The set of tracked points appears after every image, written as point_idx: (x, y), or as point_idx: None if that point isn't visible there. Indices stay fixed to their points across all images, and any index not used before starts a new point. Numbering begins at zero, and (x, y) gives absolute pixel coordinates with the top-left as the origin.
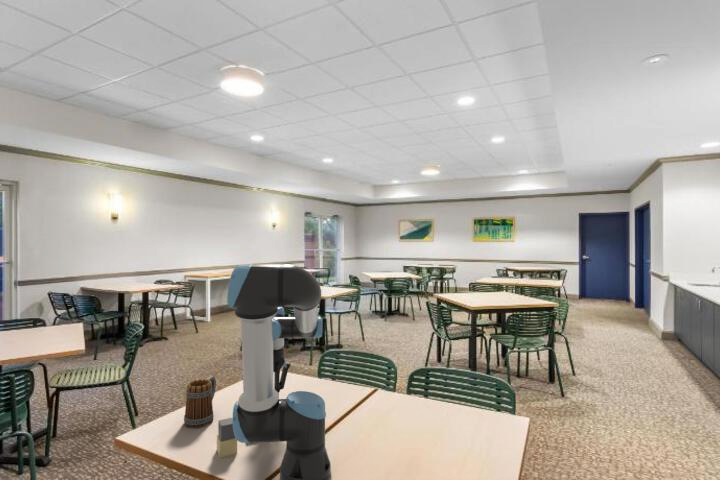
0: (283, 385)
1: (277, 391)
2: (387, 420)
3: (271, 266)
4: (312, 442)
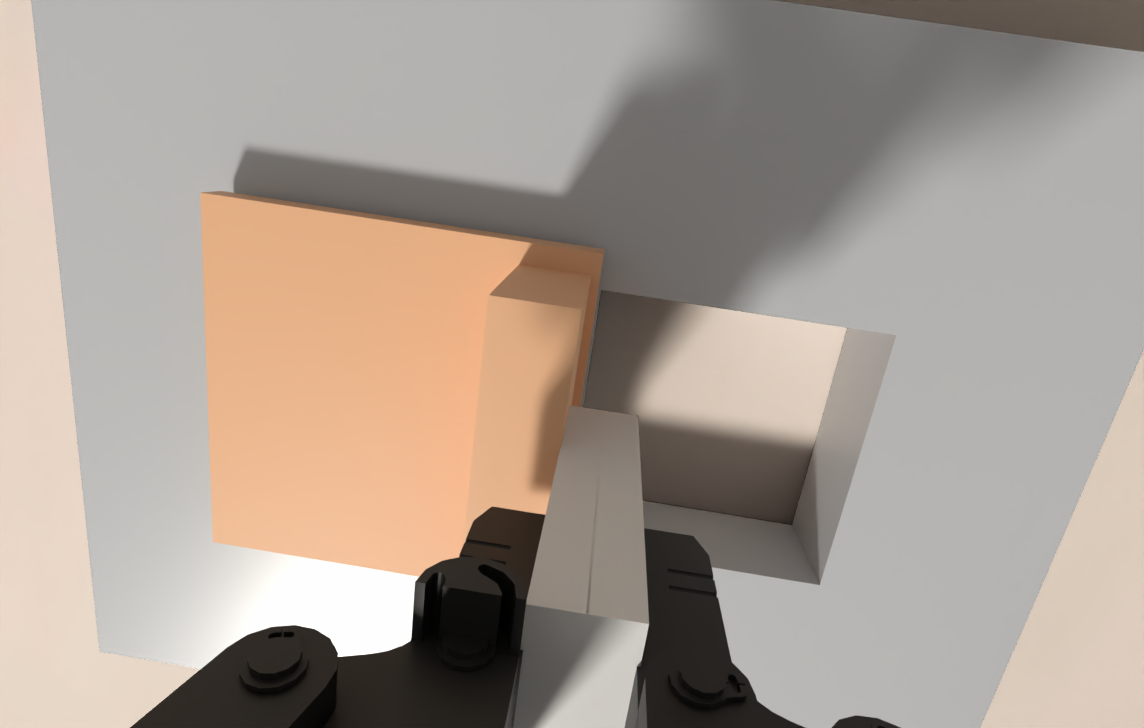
0: (183, 720)
1: (486, 621)
2: None
3: None
4: None
